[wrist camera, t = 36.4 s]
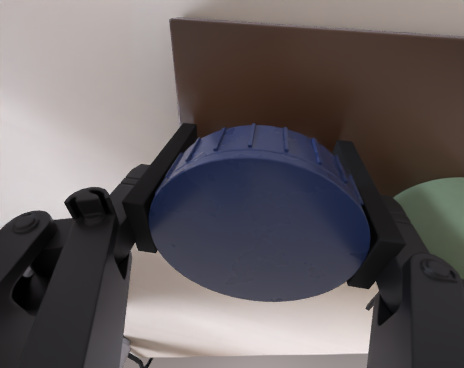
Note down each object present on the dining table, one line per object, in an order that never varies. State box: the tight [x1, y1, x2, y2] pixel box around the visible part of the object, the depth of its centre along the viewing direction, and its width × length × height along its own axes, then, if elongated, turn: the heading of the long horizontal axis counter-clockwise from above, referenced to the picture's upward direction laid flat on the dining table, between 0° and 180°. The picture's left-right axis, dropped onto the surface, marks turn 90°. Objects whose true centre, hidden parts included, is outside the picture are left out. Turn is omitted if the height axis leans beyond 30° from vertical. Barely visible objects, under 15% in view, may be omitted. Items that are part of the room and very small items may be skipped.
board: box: [169, 18, 464, 198], centre depth 15 cm, size 16×22×1 cm
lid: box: [149, 123, 371, 302], centre depth 9 cm, size 8×8×2 cm
